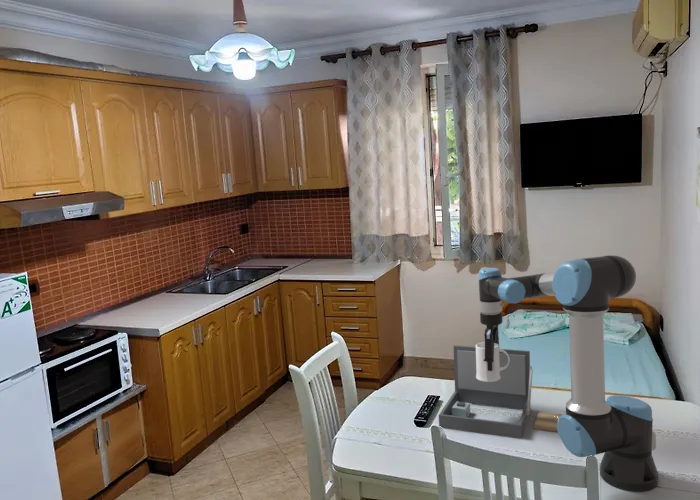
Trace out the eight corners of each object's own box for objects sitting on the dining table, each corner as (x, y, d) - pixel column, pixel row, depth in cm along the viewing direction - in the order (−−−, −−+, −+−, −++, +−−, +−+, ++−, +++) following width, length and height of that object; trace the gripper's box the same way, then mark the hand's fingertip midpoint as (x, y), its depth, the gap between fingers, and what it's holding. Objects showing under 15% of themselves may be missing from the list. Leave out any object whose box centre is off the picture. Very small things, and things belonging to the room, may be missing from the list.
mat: (577, 434, 194) (577, 433, 193) (533, 429, 199) (533, 428, 199) (579, 417, 206) (579, 416, 206) (538, 412, 212) (538, 411, 212)
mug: (510, 374, 209) (510, 342, 207) (509, 383, 201) (508, 349, 199) (477, 373, 213) (476, 341, 211) (474, 381, 205) (473, 348, 203)
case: (524, 438, 193) (523, 373, 190) (439, 427, 205) (436, 365, 202) (533, 410, 215) (532, 351, 211) (456, 401, 227) (454, 345, 223)
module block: (465, 420, 210) (465, 407, 209) (452, 417, 212) (451, 405, 212) (470, 413, 215) (469, 401, 215) (457, 411, 218) (456, 399, 217)
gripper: (496, 320, 193) (498, 386, 196) (506, 305, 211) (508, 366, 214) (474, 319, 196) (476, 384, 199) (485, 305, 214) (487, 364, 217)
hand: (492, 374), depth 206 cm, fingers closed on mug, 8 cm apart
